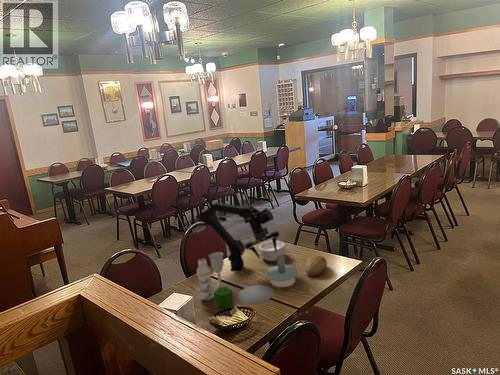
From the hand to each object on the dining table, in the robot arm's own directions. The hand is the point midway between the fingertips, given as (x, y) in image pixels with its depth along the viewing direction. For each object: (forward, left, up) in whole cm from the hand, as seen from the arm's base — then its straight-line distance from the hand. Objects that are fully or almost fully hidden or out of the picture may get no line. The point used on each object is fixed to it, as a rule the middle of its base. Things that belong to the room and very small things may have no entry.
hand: (268, 255), depth 183 cm
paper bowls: (-1, +22, -11) cm, 25 cm away
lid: (+7, -7, -7) cm, 12 cm away
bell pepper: (-18, -28, -11) cm, 35 cm away
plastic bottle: (-28, -22, -11) cm, 37 cm away
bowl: (+7, -7, -11) cm, 15 cm away
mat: (-5, -19, -11) cm, 23 cm away
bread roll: (+24, +3, -11) cm, 27 cm away
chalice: (-24, -12, -11) cm, 29 cm away
